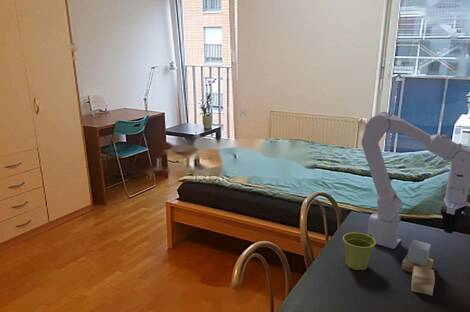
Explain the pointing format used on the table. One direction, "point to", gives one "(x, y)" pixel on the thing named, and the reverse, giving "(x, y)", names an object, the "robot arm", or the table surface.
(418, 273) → the beech cube
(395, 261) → the table surface
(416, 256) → the grey cube
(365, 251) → the plant pot
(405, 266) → the oak block
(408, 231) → the table surface
